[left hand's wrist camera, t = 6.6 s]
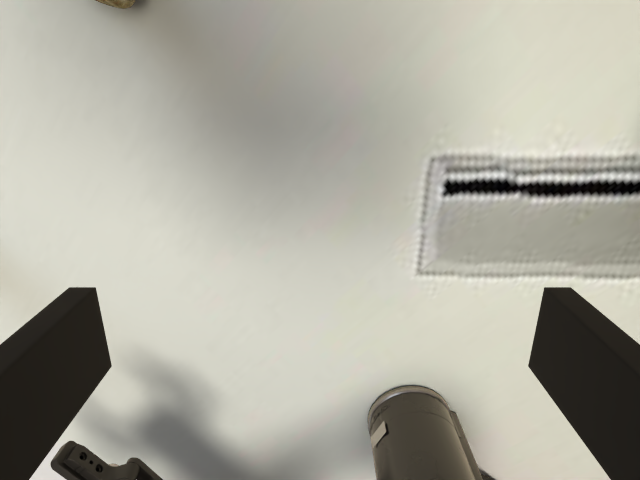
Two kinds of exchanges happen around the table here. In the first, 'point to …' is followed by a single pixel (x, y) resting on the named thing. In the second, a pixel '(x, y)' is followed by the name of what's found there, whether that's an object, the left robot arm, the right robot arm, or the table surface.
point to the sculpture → (118, 3)
